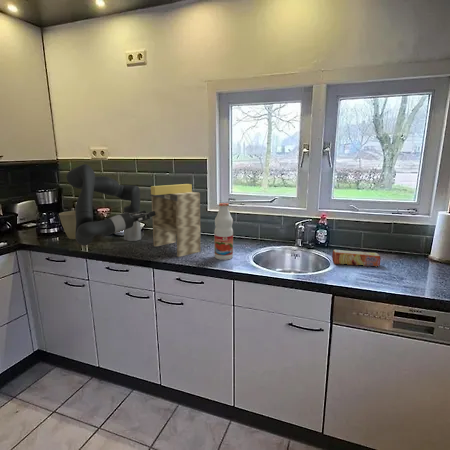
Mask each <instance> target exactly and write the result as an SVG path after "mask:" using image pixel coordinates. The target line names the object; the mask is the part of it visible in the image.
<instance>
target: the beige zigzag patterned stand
mask: <svg viewBox="0 0 450 450" xmlns="http://www.w3.org/2000/svg"><path fill="white" fill-rule="evenodd" d="M149 192H150V193H149V194H150V195H149V196H150V197H151V199H150V200H151V212H152V211H155V214H156V215H155V216H152V217H151V219H152V240H153V241H152V242H153V244H152V245H153V247H160V246H164V245H165V246H166V245H169V244H173V243H176V256H177V257H185V256H189V255H192V254H196V253H197V254H198V253H201V247H202V245H201V243H202V241H201V193H200V192H198V191H197V192H196V191H192V192H186V193H174V194H163V195H152V194H151V189H150V190H149Z"/></svg>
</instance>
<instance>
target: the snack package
mask: <svg viewBox="0 0 450 450" xmlns="http://www.w3.org/2000/svg"><path fill="white" fill-rule="evenodd" d="M332 250H333V251H332V256H331V260H332V263H333V264H334V265H344V264H347V265H346V266H348V265H349V266H358V265H363V266H362V267H370V266H379V267H380V265H381V255H380V254H379V253H377V252H367V251H358V250H356V251H354V250H353V251H352V250H342V249H332Z"/></svg>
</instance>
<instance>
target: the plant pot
mask: <svg viewBox="0 0 450 450" xmlns="http://www.w3.org/2000/svg"><path fill="white" fill-rule="evenodd" d="M58 217H59V219H60V223H61V225H62V227H63V230H64V232H65V233H64V234H65V235H66V236H67V239H69V240H76V237H75V232H76V214H75V210H70V211H62V212H59V213H58Z"/></svg>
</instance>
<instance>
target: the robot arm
mask: <svg viewBox="0 0 450 450" xmlns="http://www.w3.org/2000/svg"><path fill="white" fill-rule="evenodd" d="M66 180H67V182H68V184H69V185H70V186H72V187H74V188H75V189H78V190H81V191H80V193H79V195H78V197H77V200H76V203H75V208H74V209H75V210H74V211H75V214H76V232H75V237H76V239H75V240H76V242H77V243H78V244H79V245H81V246H89V245H90V244H91V243H92V242H93V240H94V238H95V236H98V235H99V236H101V237H106V236H110V235H112V234H115V233H116V232H120V231H123V230H124V234H123V240H124V241H127V242H136V241H140V240H142V230H141V228H142V227H141V223H142V222H144V221H147V220H150V219H151V218H152V216H155V215H156V214H155V211H152V210H151V211H149V212H146V210H141V191H140V187H139V186H138V185H135V184H134V185H133V184H132V185H129V184H119V181H117V180H116V179H114V178H112V177H110V176H105V175H104V176H103V175H97V176H96V174H95V171H94V169H93V168H92V167H91V166H90V165H88V164H86V163H83V164H81V165H79V166H77V167H73V169H71V170H69V171H67V174H66ZM94 192H95V193H100V194H103V195H106V196H110V197H111V196H113V197H117V198H119V199H121V200H123V201H129V202H130V204H129V205H127V206H124V208H123V213H120V214H116V215H113V216H111V217H109V218H104V219H102V220H99V221H98V220H94V212H93V211H94V210H93V209H94V208H93V199H94Z"/></svg>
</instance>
